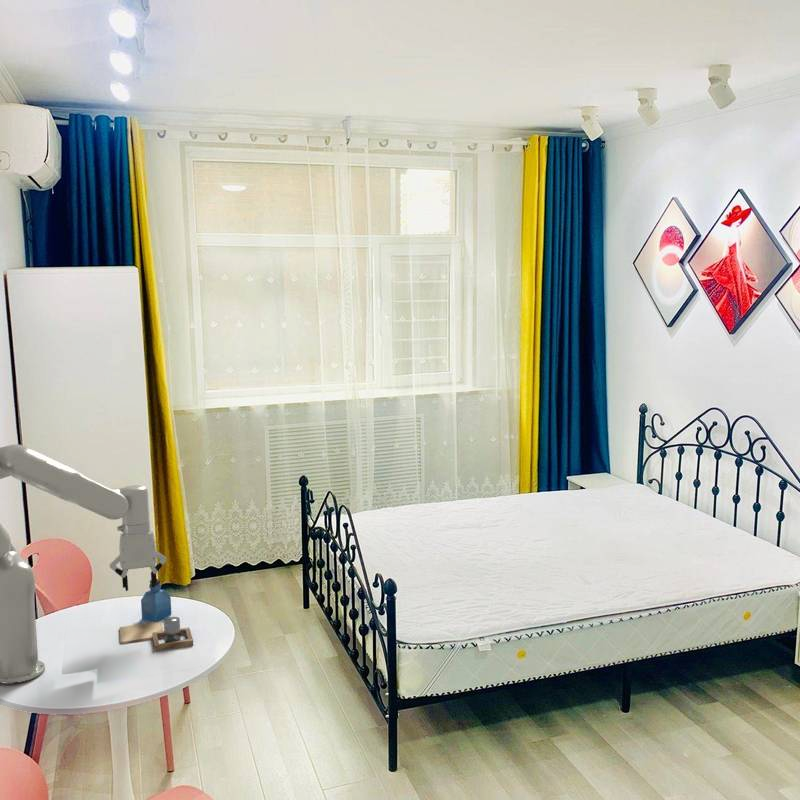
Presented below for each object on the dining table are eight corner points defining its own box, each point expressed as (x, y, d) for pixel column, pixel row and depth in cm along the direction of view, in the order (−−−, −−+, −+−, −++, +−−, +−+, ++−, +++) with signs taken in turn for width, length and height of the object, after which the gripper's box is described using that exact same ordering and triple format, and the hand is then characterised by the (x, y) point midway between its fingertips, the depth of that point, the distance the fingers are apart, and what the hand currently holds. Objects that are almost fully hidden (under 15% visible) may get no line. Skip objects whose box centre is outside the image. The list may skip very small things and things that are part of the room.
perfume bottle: (171, 616, 250) (169, 579, 249) (155, 623, 245) (153, 585, 244) (157, 613, 254) (155, 576, 252) (142, 619, 248) (140, 581, 247)
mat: (120, 644, 230) (120, 641, 230) (119, 629, 241) (119, 627, 241) (164, 637, 234) (164, 635, 234) (161, 623, 245) (161, 621, 245)
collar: (154, 651, 224) (154, 646, 224) (152, 637, 234) (152, 632, 234) (193, 645, 228) (193, 640, 228) (189, 632, 237) (189, 627, 237)
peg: (165, 645, 228) (164, 623, 227) (164, 640, 232) (163, 618, 231) (181, 643, 229) (180, 621, 229) (179, 637, 234) (178, 615, 233)
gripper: (104, 535, 228) (108, 596, 230) (168, 527, 234) (171, 587, 236) (104, 528, 235) (108, 588, 237) (166, 521, 241) (169, 579, 243)
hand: (140, 587), depth 236 cm, fingers open, 6 cm apart
